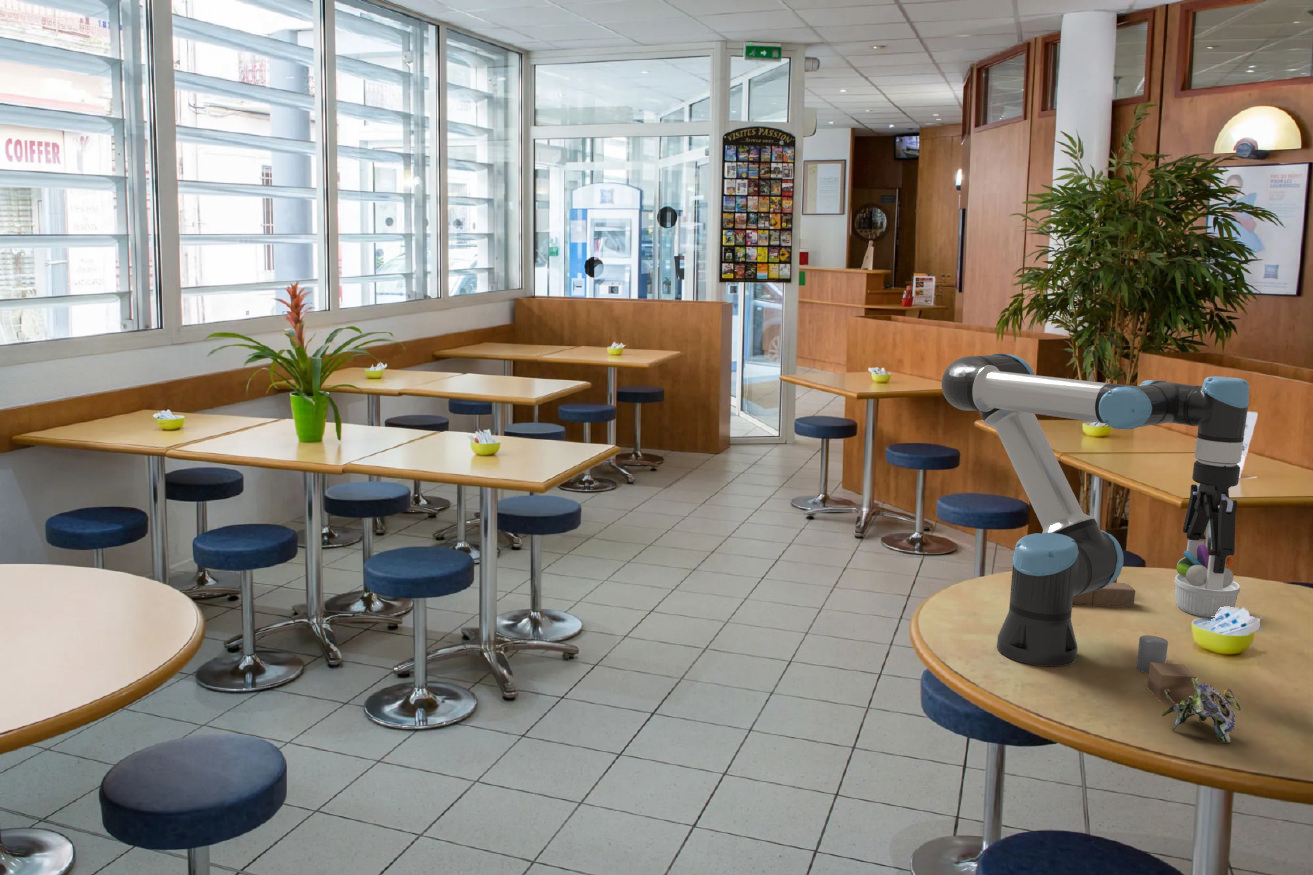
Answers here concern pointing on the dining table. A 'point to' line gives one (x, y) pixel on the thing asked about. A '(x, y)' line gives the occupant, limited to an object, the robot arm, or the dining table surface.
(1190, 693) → the walnut block
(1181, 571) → the rainbow cloud toy
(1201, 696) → the passion flower
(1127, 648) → the dining table surface
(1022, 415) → the robot arm
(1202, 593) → the ramekin
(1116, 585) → the wooden block set
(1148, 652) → the grey cylinder
